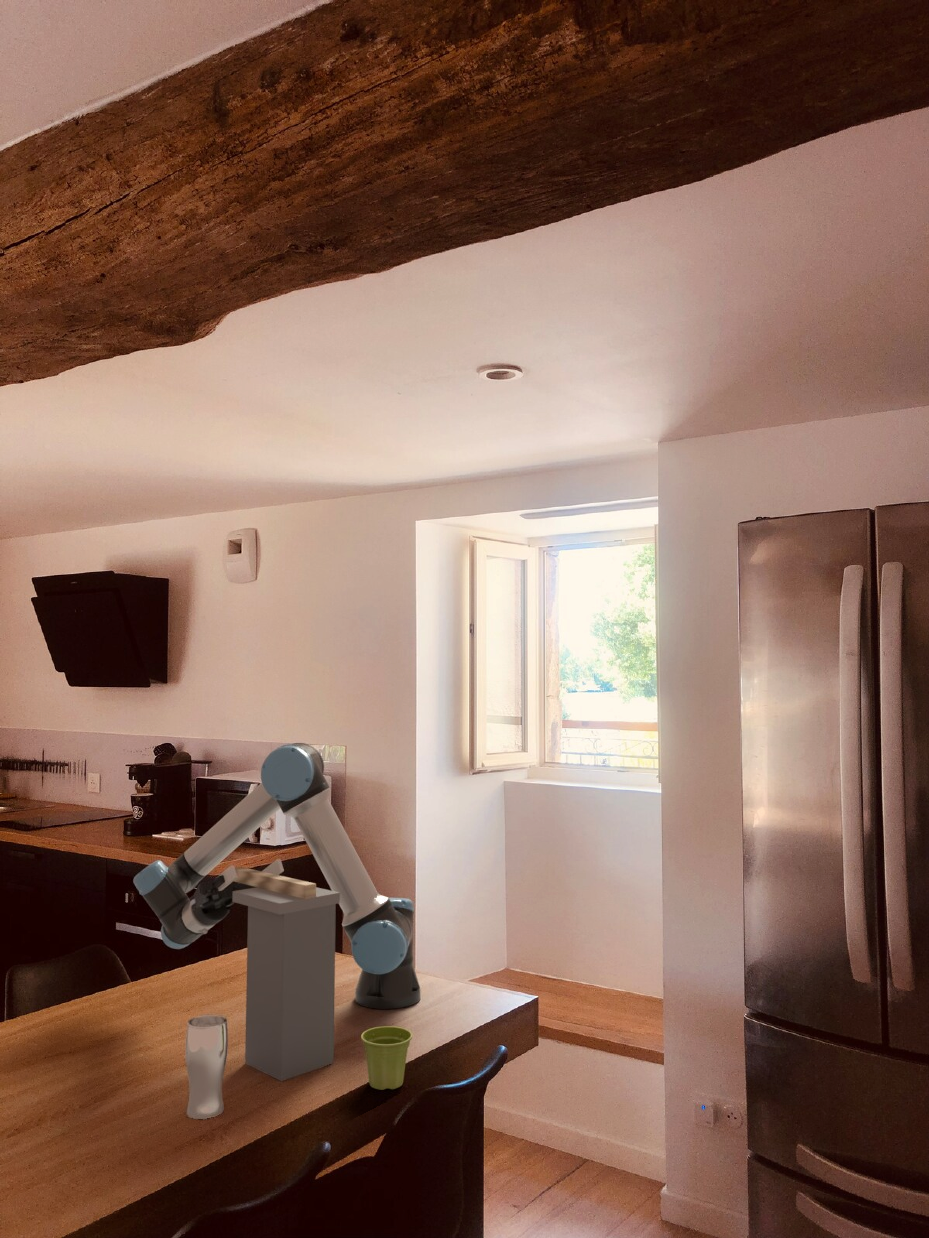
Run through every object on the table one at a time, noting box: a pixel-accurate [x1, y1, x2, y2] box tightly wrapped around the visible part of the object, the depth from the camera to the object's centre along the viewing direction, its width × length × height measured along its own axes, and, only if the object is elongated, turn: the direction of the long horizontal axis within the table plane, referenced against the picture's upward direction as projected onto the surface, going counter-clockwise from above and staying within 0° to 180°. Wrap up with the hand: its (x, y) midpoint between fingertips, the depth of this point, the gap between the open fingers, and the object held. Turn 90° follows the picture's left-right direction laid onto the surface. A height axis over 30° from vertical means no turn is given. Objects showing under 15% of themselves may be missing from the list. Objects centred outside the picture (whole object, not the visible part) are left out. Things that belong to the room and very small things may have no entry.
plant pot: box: [360, 1025, 413, 1091], centre depth 175 cm, size 9×9×9 cm
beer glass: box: [184, 1014, 229, 1120], centre depth 164 cm, size 7×7×15 cm
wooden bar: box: [233, 866, 317, 899], centre depth 192 cm, size 26×2×2 cm, turn 46°
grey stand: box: [232, 886, 340, 1082], centre depth 187 cm, size 16×14×32 cm
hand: (257, 868), depth 196 cm, fingers open, 10 cm apart
